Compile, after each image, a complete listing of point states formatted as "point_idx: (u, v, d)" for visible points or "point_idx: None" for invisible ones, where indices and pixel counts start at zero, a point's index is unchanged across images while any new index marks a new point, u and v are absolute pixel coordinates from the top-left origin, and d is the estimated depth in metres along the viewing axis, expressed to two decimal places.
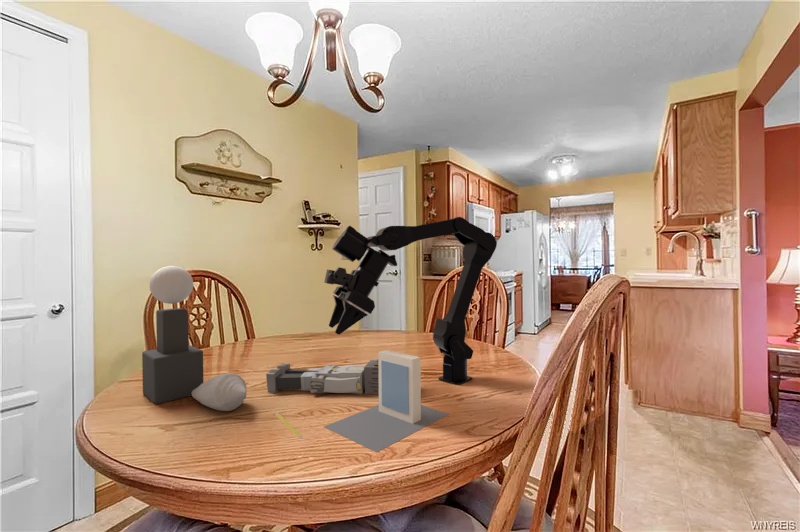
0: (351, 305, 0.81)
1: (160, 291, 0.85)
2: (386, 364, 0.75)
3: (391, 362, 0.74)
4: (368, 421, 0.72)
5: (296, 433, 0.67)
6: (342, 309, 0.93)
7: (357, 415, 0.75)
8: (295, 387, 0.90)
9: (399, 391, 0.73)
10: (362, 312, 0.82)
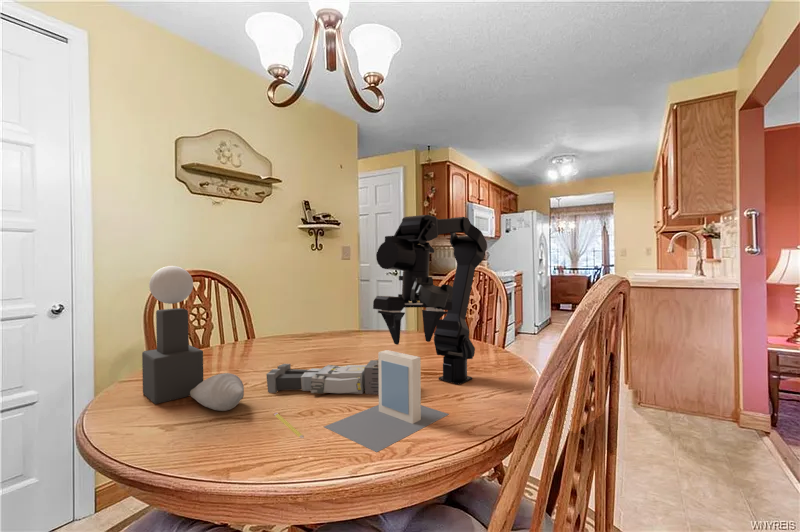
0: None
1: (160, 291, 0.85)
2: (386, 364, 0.75)
3: (391, 362, 0.74)
4: (368, 421, 0.72)
5: (297, 433, 0.67)
6: None
7: (357, 415, 0.75)
8: (295, 387, 0.89)
9: (399, 391, 0.73)
10: None
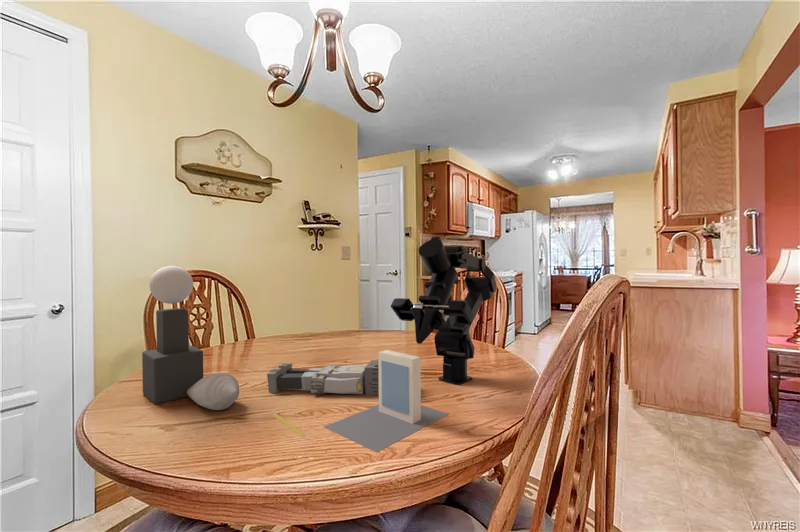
0: None
1: (160, 291, 0.85)
2: (386, 364, 0.75)
3: (391, 362, 0.74)
4: (368, 421, 0.72)
5: (298, 432, 0.67)
6: None
7: (357, 415, 0.75)
8: (296, 387, 0.89)
9: (399, 391, 0.73)
10: None
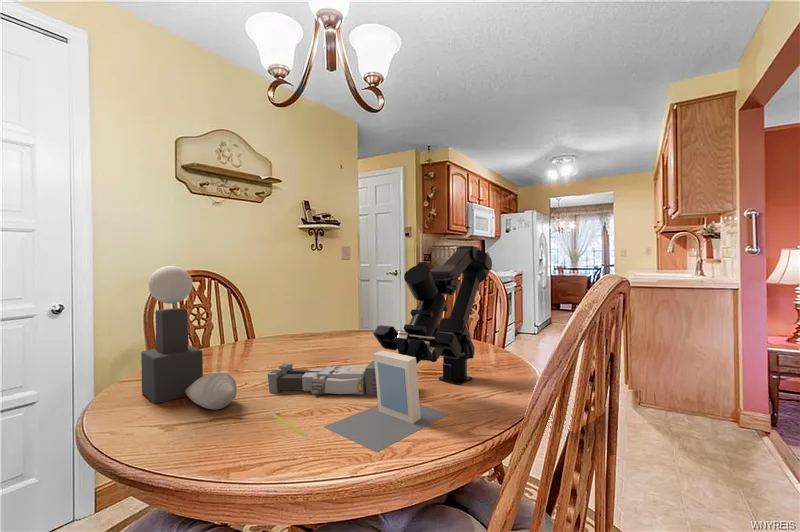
0: None
1: (160, 291, 0.85)
2: (382, 366, 0.74)
3: (387, 364, 0.73)
4: (368, 421, 0.72)
5: (300, 432, 0.67)
6: None
7: (357, 415, 0.75)
8: (296, 387, 0.89)
9: (396, 392, 0.72)
10: None
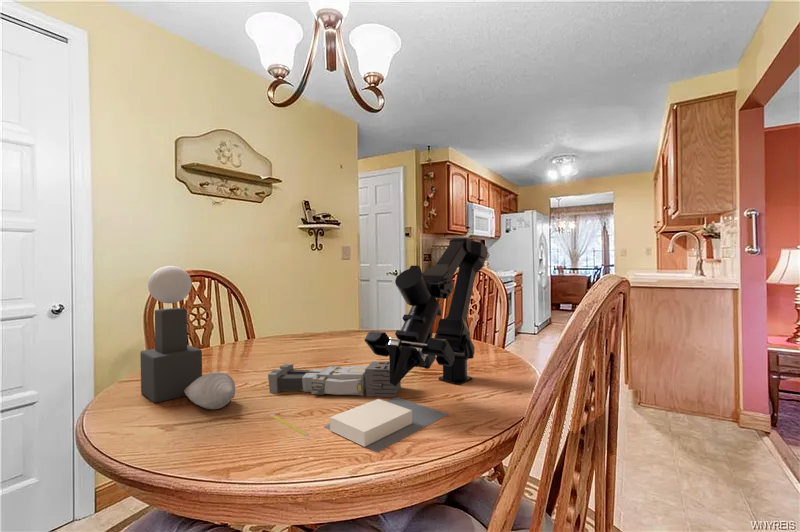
0: None
1: (159, 291, 0.85)
2: None
3: None
4: None
5: (301, 432, 0.67)
6: None
7: None
8: (297, 388, 0.89)
9: None
10: None
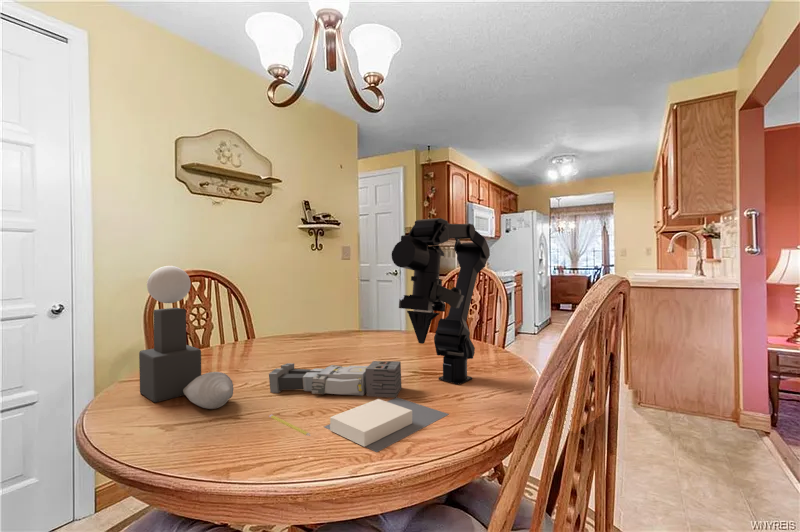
0: None
1: (158, 291, 0.86)
2: None
3: None
4: None
5: (302, 431, 0.68)
6: None
7: None
8: (297, 387, 0.89)
9: None
10: None
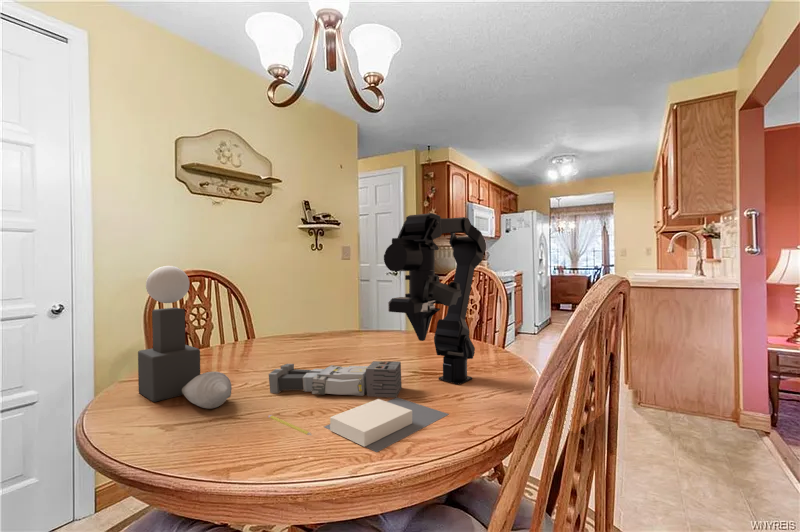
0: None
1: (158, 291, 0.86)
2: None
3: None
4: None
5: (303, 431, 0.68)
6: None
7: None
8: (297, 388, 0.89)
9: None
10: None
